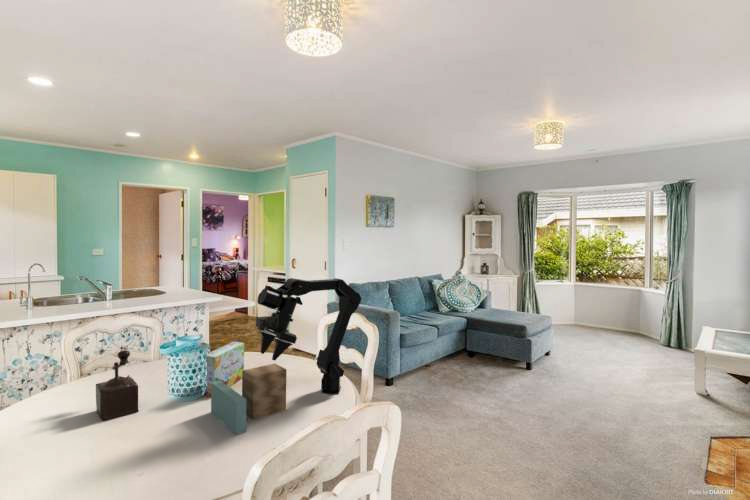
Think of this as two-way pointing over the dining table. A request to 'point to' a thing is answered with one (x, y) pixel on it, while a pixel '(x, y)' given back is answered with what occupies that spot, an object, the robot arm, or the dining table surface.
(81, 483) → the dining table surface
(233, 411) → the teal board
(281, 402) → the walnut block
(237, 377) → the snack box
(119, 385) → the pepper mill
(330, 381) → the robot arm
